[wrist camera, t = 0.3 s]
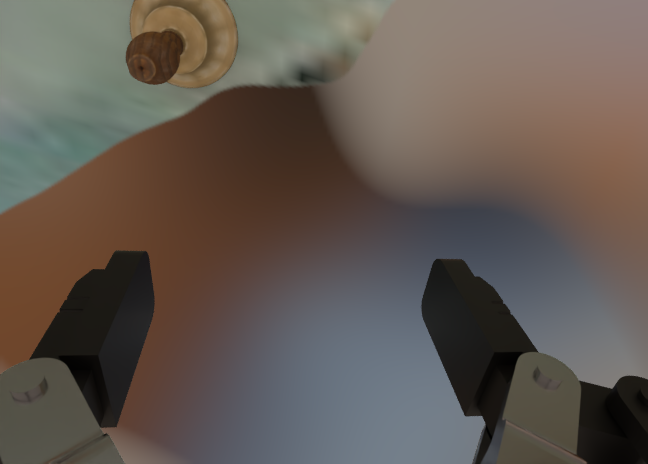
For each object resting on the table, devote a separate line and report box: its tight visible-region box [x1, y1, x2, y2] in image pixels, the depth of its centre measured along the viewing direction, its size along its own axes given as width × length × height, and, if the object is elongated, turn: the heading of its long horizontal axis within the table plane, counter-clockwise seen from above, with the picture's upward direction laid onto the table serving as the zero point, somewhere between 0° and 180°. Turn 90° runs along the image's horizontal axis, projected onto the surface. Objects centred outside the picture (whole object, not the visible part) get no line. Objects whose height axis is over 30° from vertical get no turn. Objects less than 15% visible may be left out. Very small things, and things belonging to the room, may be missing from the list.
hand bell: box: [126, 0, 238, 88], centre depth 27 cm, size 8×8×16 cm
